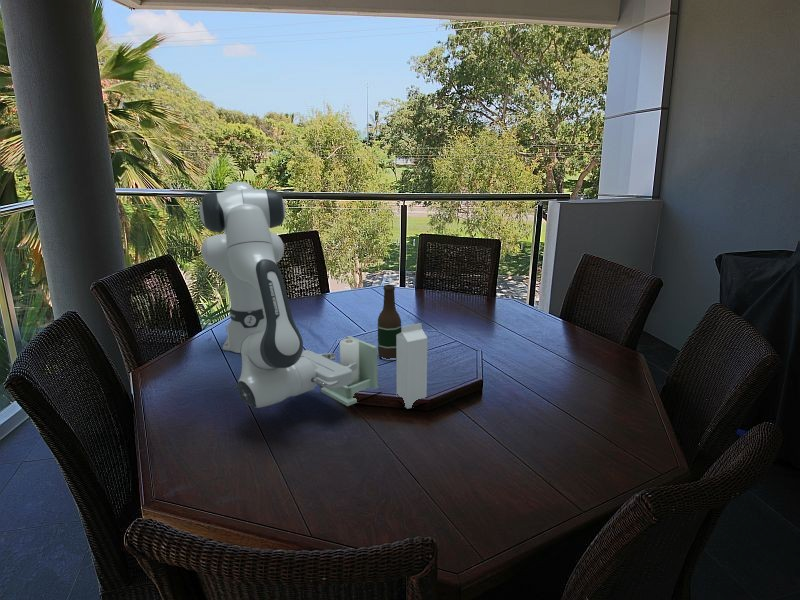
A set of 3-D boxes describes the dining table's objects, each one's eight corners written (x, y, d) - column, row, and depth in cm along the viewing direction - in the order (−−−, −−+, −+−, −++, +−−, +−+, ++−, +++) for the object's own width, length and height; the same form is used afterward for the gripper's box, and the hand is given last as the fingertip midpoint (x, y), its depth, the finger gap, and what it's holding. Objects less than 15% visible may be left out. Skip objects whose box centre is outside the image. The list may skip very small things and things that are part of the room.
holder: (320, 391, 151) (318, 345, 147) (354, 379, 159) (353, 334, 155) (347, 406, 142) (345, 357, 138) (381, 392, 150) (380, 345, 146)
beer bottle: (398, 362, 171) (398, 289, 164) (375, 360, 172) (374, 288, 165) (403, 353, 178) (403, 283, 171) (380, 351, 180) (380, 281, 173)
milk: (426, 404, 144) (428, 326, 137) (407, 409, 141) (408, 330, 135) (414, 394, 149) (416, 319, 143) (395, 399, 146) (396, 323, 140)
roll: (338, 387, 151) (336, 339, 147) (354, 383, 154) (353, 336, 150) (346, 394, 147) (344, 345, 143) (363, 389, 150) (362, 342, 146)
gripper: (325, 375, 129) (369, 360, 138) (279, 353, 143) (321, 340, 152) (326, 399, 131) (369, 382, 140) (281, 374, 145) (322, 360, 154)
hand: (344, 360), depth 146 cm, fingers open, 8 cm apart
